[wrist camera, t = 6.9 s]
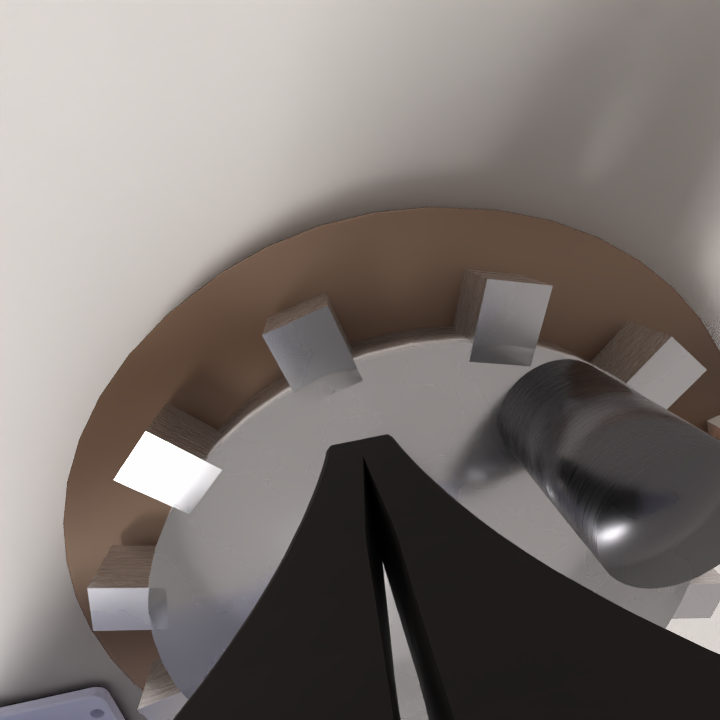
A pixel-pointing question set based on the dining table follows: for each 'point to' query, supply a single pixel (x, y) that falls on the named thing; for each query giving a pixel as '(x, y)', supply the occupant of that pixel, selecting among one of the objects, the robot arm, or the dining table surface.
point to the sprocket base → (359, 321)
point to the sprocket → (426, 471)
